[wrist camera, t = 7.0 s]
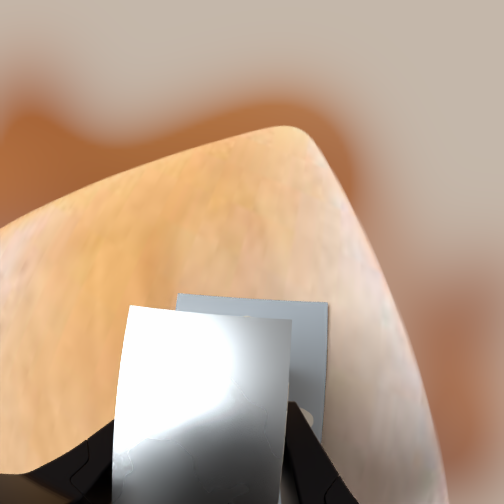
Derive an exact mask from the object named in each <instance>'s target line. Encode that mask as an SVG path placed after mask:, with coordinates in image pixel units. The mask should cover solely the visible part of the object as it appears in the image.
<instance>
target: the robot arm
mask: <svg viewBox="0 0 504 504" xmlns="http://www.w3.org/2000/svg"><path fill="white" fill-rule="evenodd" d="M114 424H115V419H114V420H112V421H111V422H110V423H108V424H107V425H106V426H104V427H103V428H101V429H100V430H99V431H97V432H96V433H95V434H93V435H92V436H91V437H89V438H88V439H87V440H85V441H83V442H82V443H81V444H79V445H78V446H76V447H75V448H73V449H72V450H70V451H69V452H67V453H65V454H64V455H62V456H60V457H58V458H57V459H55V460H53V461H51V462H49V463H47V464H45V465H43V466H41V467H39V468H37V469H35V470H33V471H31V472H28V473H24V474H0V504H112V463H113V440H114ZM338 475H339V474H338V472H337V471H336V469H335V467H334V466H333V464H332V462H331V461H330V459H329V457H328V456H327V454H326V452H325V451H324V449H323V447H322V446H321V444H320V442H319V440H318V439H317V437H316V435H315V434H314V432H313V430H312V429H311V427H310V425H309V423H308V422H307V420H306V418H305V416H304V415H303V413H302V411H301V410H300V408H299V406H298V404H297V403H296V402H295V401H288V408H287V420H286V432H285V443H284V454H283V464H282V474H281V483H280V493H281V504H359V503H358V502H357V500H356V499H355V498H354V497H353V495H352V494H351V492H350V491H349V489H348V488H347V486H346V485H345V483H344V482H343V480H342V479H341V477H340V476H338Z"/></svg>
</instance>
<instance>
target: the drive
mask: <svg viewBox="0 0 504 504" xmlns="http://www.w3.org/2000/svg"><path fill="white" fill-rule="evenodd" d="M291 332H292V320H291V319H272V318H255V317H241V316H227V315H215V314H204V313H193V312H183V311H173V310H164V309H155V308H147V307H139V306H131V305H130V309H129V314H128V320H127V326H126V332H125V338H124V345H123V351H122V358H121V366H120V374H119V382H118V391H117V401H116V412H115V424H114V440H113V463H112V504H278V501H279V492H280V483H281V474H282V464H283V454H284V443H285V432H286V420H287V408H288V394H289V368H290V351H291Z"/></svg>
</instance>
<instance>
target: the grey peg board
mask: <svg viewBox="0 0 504 504" xmlns="http://www.w3.org/2000/svg"><path fill="white" fill-rule="evenodd" d="M175 311H183V312H193V313H204V314H215V315H227V316H241V317H255V318H272V319H291V320H292V332H291V351H290V368H289V394H288V401H295V402H296V403H297V404H298V406H299V408H300V410H301V411H302V413H303V415H304V416H305V418H306V420H307V422H308V423H309V425H310V427H311V429H312V430H313V432H314V434H315V435H316V437H317V439H318V440H319V442H320V444H321V439H322V427H323V414H324V400H325V382H326V360H327V322H328V303H327V302H301V301H280V300H262V299H246V298H231V297H217V296H204V295H192V294H180V293H178V297H177V303H176V310H175ZM278 504H281V493H280V492H279V501H278Z"/></svg>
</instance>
